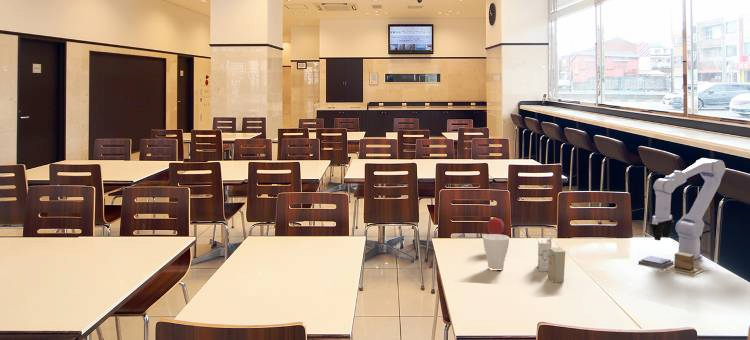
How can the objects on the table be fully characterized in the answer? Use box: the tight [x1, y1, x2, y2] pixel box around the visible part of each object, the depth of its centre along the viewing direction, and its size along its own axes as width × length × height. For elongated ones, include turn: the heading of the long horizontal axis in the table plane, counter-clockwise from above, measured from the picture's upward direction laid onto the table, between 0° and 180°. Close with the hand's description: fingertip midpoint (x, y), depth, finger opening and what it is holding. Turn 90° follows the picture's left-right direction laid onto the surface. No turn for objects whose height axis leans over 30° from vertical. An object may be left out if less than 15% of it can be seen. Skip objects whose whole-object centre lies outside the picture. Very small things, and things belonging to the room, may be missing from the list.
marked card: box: [665, 264, 706, 276], centre depth 249 cm, size 11×11×1 cm
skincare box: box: [547, 247, 566, 283], centre depth 236 cm, size 6×4×12 cm
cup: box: [482, 233, 510, 270], centre depth 251 cm, size 10×10×14 cm
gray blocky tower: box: [537, 231, 552, 272], centre depth 251 cm, size 9×5×15 cm, turn 168°
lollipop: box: [486, 217, 505, 235], centre depth 281 cm, size 8×8×15 cm
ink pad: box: [638, 255, 675, 269], centre depth 257 cm, size 10×10×2 cm
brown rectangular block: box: [673, 251, 695, 271], centre depth 249 cm, size 4×6×6 cm, turn 41°
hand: (661, 238), depth 262 cm, fingers open, 7 cm apart
